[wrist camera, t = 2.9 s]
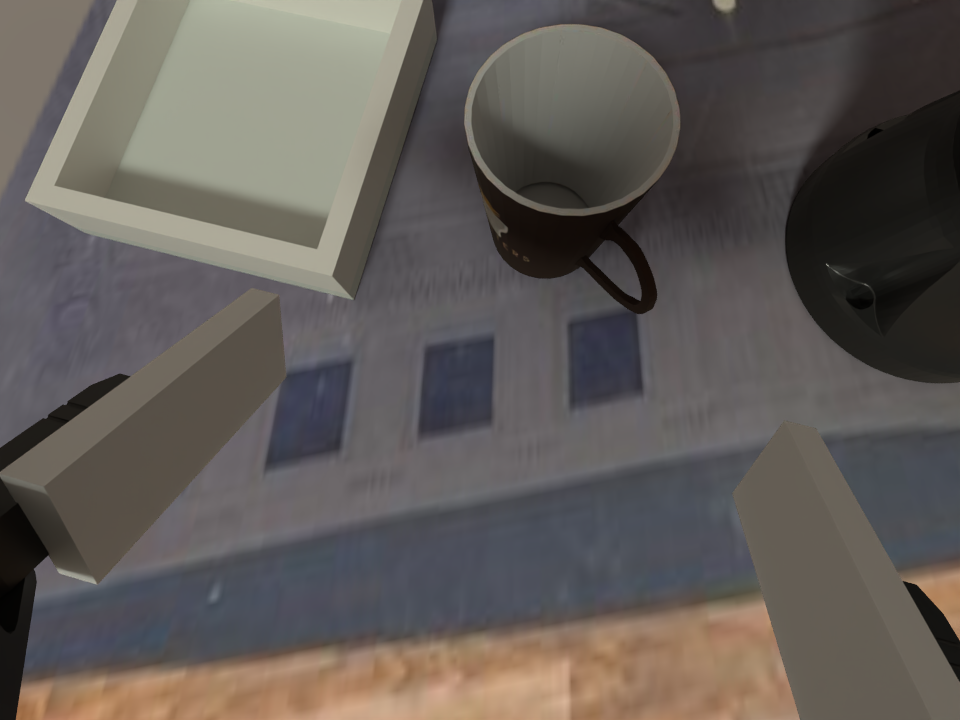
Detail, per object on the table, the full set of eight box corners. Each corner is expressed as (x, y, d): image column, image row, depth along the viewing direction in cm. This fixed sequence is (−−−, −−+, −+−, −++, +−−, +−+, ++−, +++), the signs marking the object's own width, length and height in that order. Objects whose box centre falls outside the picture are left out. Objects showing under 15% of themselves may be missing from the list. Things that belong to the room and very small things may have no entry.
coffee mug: (472, 165, 30) (462, 27, 20) (611, 161, 30) (670, 20, 20) (475, 348, 28) (466, 293, 18) (625, 345, 28) (698, 288, 18)
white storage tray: (437, 39, 32) (429, -19, 28) (353, 299, 29) (332, 276, 25) (191, -12, 33) (151, -74, 29) (86, 233, 30) (24, 200, 26)
